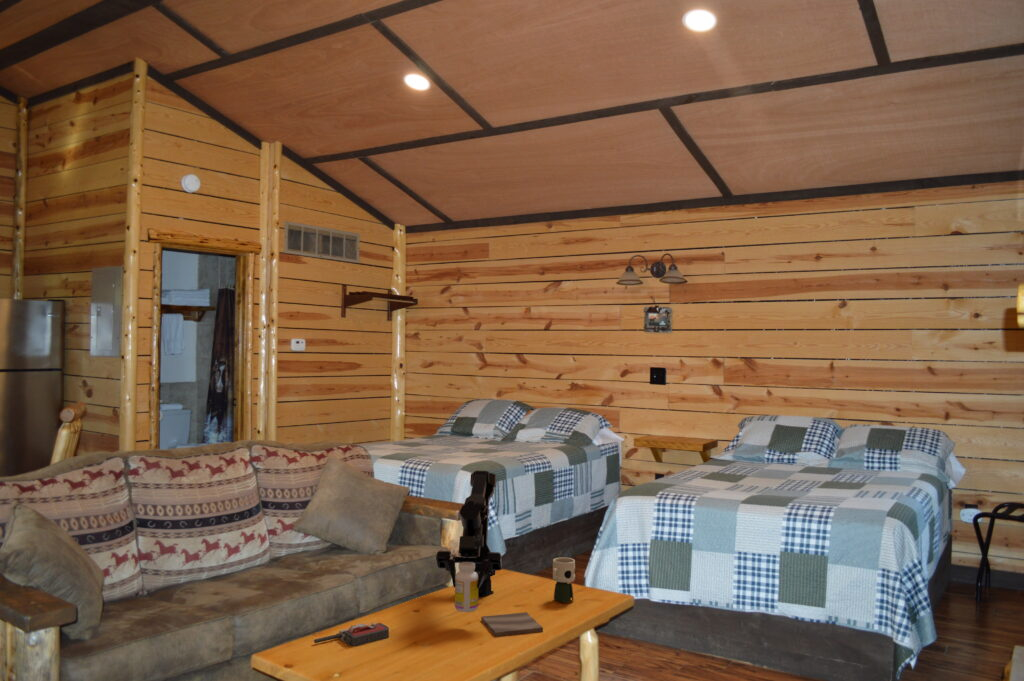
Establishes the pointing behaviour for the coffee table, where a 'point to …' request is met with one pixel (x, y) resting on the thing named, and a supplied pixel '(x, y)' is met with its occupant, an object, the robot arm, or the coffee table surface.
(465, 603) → the supplement bottle
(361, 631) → the walkie-talkie
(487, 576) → the robot arm
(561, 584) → the character mug
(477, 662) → the coffee table surface
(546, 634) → the coffee table surface
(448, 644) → the coffee table surface
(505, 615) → the walnut board
